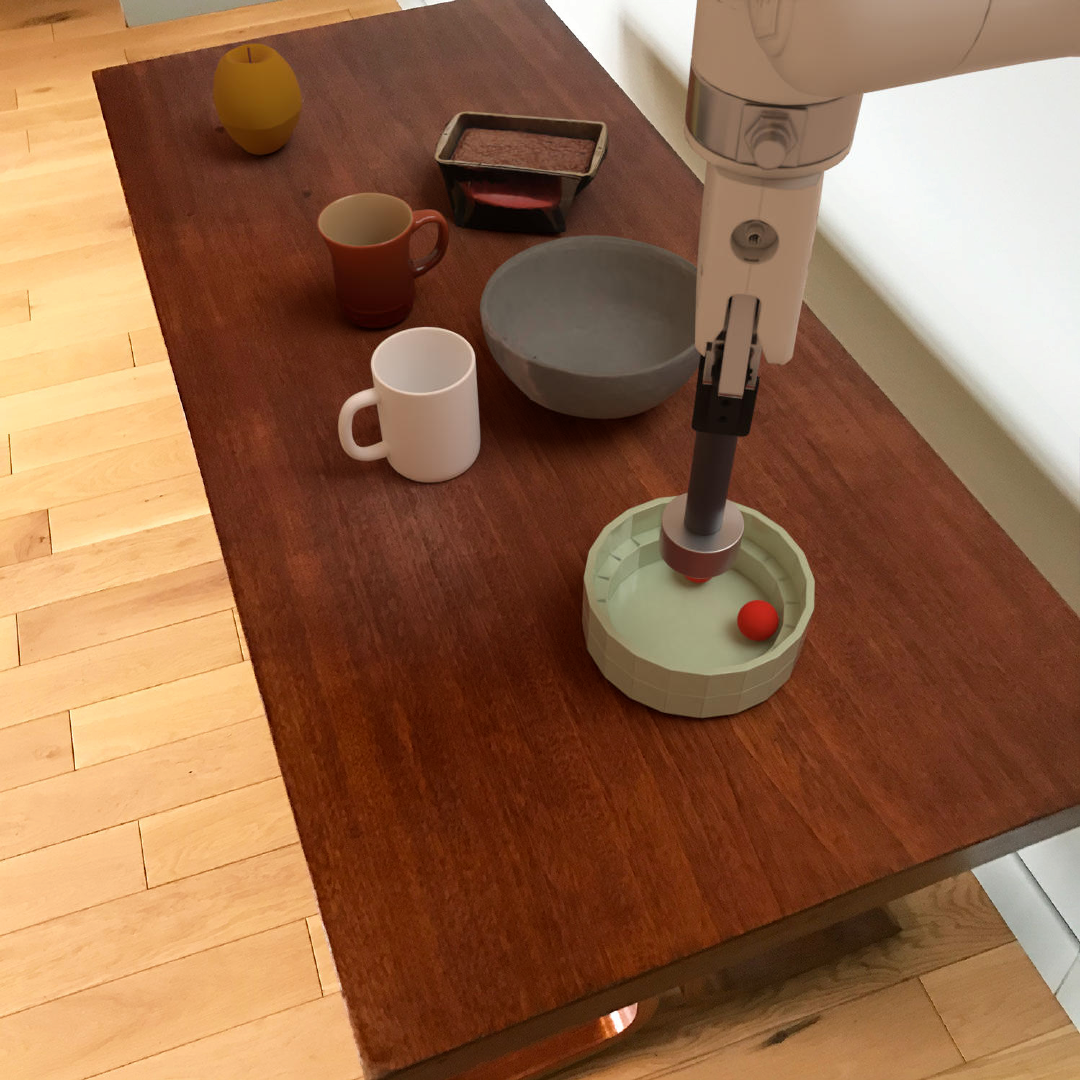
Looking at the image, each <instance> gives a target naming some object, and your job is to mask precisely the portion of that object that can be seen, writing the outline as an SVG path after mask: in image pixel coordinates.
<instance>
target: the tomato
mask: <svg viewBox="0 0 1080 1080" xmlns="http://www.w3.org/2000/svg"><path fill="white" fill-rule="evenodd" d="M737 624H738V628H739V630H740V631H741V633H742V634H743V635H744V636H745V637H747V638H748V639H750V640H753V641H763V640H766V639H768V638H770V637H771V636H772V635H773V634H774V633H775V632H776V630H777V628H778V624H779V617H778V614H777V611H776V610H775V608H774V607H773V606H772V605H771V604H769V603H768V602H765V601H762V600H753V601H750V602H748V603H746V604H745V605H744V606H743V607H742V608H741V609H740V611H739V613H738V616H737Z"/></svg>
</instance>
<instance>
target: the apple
mask: <svg viewBox="0 0 1080 1080" xmlns="http://www.w3.org/2000/svg"><path fill="white" fill-rule="evenodd" d="M291 67H292V66H291V65H290V64H289V63H288V62H287V61H286V59H285V58H284V57H283V56H282V55H281V54H279V52H278V51H277V50H276V49H275V48H272V47H271V46H268V45H266V44H263V43H244V44H241V45H239V46H237V47H234V48H233V49H232V48H231V49H229V50H228V51H226V53H224V54H223V55H222V56H221V57H220V59H219V61H218V63H217V66H216V68H215V71H214V73H213V74H214V75H213V87H212V100H213V103H214V107H215V110H216V113H217V117H218V119H219V122H220V124H221V125H222V127H223V128H224V129H225V131H226V132H227V134H228V136H230V138H231V139H232V141H234V142H235V143H236V144H238V145H239V146H240V147H241V148H242V149H243V150H245V151H246V152H247V153H248V154H252V155H255V156H263V155H270V154H272V153H274V152H276V151H279V150H280V149H281V148H282V147H284V146H285V145H286V144H287V143H288V142H289V140H290V139H291V137H292V135H293V133H294V131H295V130H296V127H297V125H298V123H299V120H300V119H301V112H302V108H303V100H302V92H301V89H300V85H299V82H298V79H297V76H296V73H295V71H294V70H293V68H291Z"/></svg>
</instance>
